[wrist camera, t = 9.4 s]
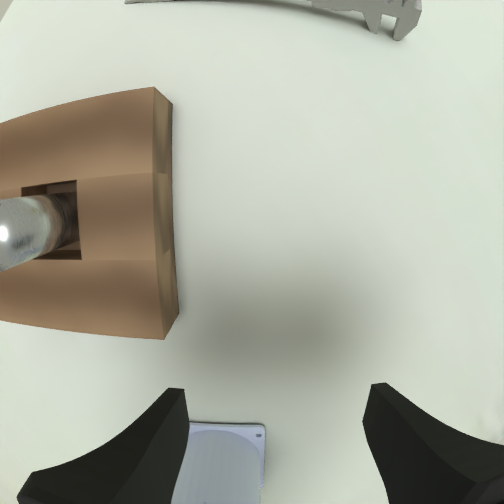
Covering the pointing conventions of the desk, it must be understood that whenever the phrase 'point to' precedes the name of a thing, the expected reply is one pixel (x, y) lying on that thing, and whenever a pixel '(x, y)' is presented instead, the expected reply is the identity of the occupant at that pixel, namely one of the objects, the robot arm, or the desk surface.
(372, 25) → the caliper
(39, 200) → the pin
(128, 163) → the block
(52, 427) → the desk surface
